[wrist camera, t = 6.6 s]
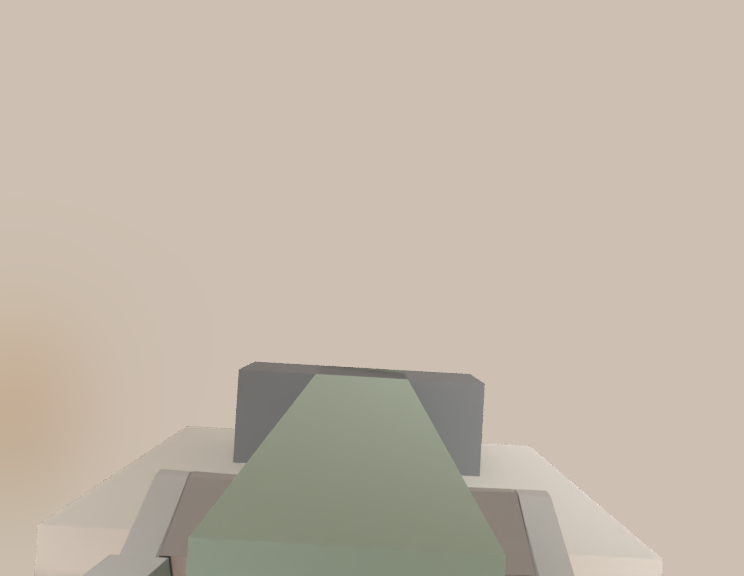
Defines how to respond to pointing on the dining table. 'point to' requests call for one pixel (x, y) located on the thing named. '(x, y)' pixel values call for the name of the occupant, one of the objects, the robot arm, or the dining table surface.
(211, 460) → the tall white box
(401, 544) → the t-shaped bar
